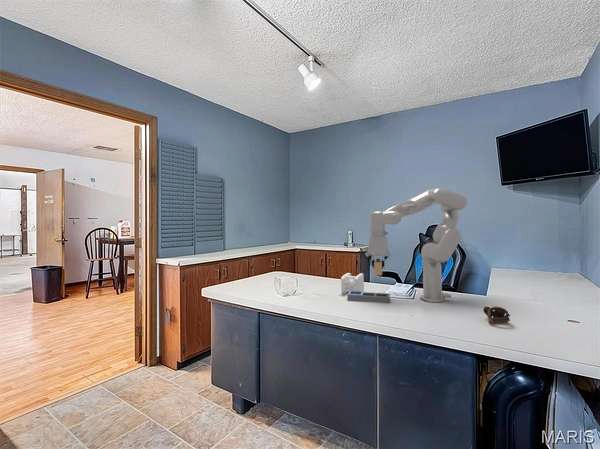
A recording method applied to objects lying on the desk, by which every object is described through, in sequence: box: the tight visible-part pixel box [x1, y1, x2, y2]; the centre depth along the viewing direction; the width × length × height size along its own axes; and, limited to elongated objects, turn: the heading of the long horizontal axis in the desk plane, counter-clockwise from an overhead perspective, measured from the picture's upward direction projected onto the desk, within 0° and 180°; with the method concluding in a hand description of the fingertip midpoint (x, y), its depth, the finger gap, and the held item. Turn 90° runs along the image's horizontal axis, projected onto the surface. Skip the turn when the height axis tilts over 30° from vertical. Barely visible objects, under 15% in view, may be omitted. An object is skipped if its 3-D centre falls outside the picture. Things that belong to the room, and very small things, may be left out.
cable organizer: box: [340, 272, 365, 295], centre depth 193 cm, size 15×11×12 cm
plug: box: [373, 258, 383, 276], centre depth 170 cm, size 4×4×8 cm
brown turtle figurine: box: [483, 306, 511, 325], centre depth 138 cm, size 12×10×8 cm
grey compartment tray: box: [346, 290, 391, 304], centre depth 173 cm, size 22×8×5 cm, turn 73°
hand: (378, 267), depth 170 cm, fingers closed on plug, 4 cm apart
